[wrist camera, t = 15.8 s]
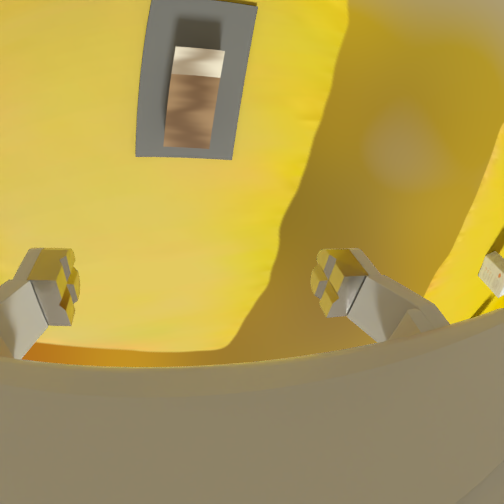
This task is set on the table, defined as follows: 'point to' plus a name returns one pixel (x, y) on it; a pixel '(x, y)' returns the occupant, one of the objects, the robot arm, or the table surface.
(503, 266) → the small box
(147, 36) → the mat
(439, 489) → the robot arm
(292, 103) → the table surface
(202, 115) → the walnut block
